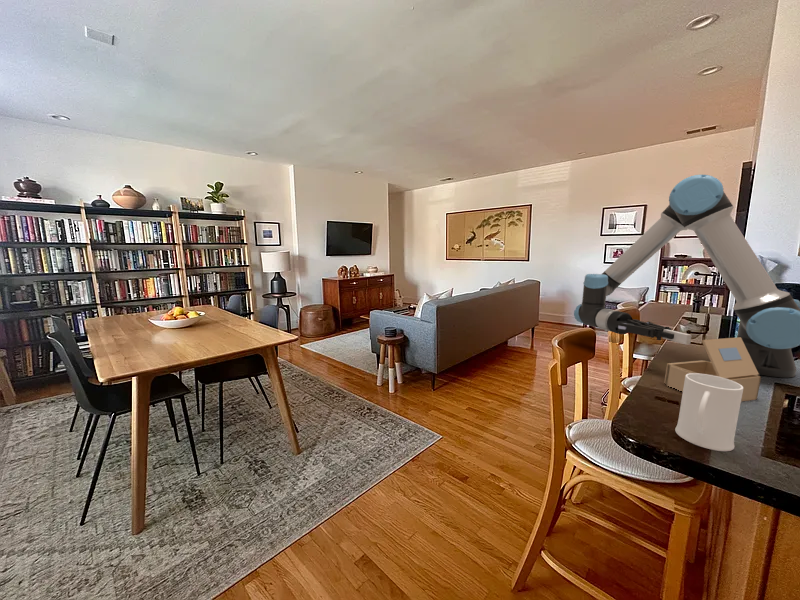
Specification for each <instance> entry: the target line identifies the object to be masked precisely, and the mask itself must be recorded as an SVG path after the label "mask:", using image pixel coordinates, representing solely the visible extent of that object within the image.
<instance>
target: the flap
mask: <svg viewBox="0 0 800 600" xmlns="http://www.w3.org/2000/svg"><path fill="white" fill-rule="evenodd" d="M701 343H702V345H703V346H704V350H705V351H706V353H707V356H708V359H709V360H710V361H709V362H711V363H712V365H713V368H714V370H715V372H716V374H717V376H718V377H722V378H730V377H739V376H749V375H760V374H759V373H758V371H757V369H756V367H755V365H754V363H753V361H752V359H751V357H750V355H749V353H748V351H747V349H746V347H745V345H744V343H743V341H742V338H741V337H738V338H737V337H725V338H712V339H710V338H709V339H701Z"/></svg>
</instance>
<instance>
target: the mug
mask: <svg viewBox="0 0 800 600" xmlns="http://www.w3.org/2000/svg"><path fill="white" fill-rule="evenodd" d="M742 394H743V386H742V385H740V384H739V383H737V382H734V381H732V380H729V379H726V378H722V377H718V376H713V375H708V374H700V373H689V374H686V376H685V381H684V388H683V392H682V396H681V401H680V407H679V415H678V420H677V423H676V424H677V425H676V427H675V429H674V430H675V433H676V434H677V436H679V437H680V438H682V439H684V440H685V441H687V442H689V443H690V444H693V445H695V446H697V447H701V448H704V449H709V450H711V451H716V452H717V451H718V452H730V451H733V450H734V449H735V438H736V437H735V435H736V431H737V430H736V429H737V426H738V420H739V414H740V410H741V409H740V408H741V404H742V401H741V399H742Z"/></svg>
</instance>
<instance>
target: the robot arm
mask: <svg viewBox="0 0 800 600" xmlns="http://www.w3.org/2000/svg"><path fill="white" fill-rule="evenodd" d="M668 202H669V204H668V206H666V208H665V209H664V210H663V211H662V212H661V213H660V218H659V219H658V220H657V221H656V222H655V223H654V224H653V225H652V226H650V227H649V229H647V231H645V233H643V234H642V235H641V236H640V237H639V238H638V239H637V240H636V241H635V242H634V243H633V244H632V245H631V246H630V247H629V248H627V250H624V252H623V253H622V254H621V255H620V256H619V257H618V258H617V259H616V260H615V261H614V262H613V263H611V264H610V265H609V267H608V268H606V269H605V270H604V271H603V272H602V273H586V274H585V276H584V280H583V291H582V298H581V299H582V300H581V304H578V305H577V306H576V307H575V310H574V311H573V316H574V319H575V320H576V321H577V322H578V323H581V324H583V325H586V326H591V327H594V328H598V329H600V330H604V332H605V333H606V332H612V333H614V334H617V335H626V334H627V333H628V334H629V333H630V334H633V335H638V336H644V337H647V338H651V339H652V338H656V341H661V340H662V339H663V340H667V341H670V342H675V343H677V344H683V345H686V346H687V345H691V341H692V334H689V333H685V332H681V331H677V330H672V328H671V327H670V326H664V325H661V324H658V323H657V324H656V323H653V322H651V321H642V320H640V319H637V318H636V319H635V318H634V319H633V317H632V316H631V314H629V313H628V312H624V311H619V310H616V309H610V308H606V300H607V297H608V296H610V295H612V293H613V292H615V290H616V289H618V287H619V286H621V285H622V284H623V283H624V282H625V281H626V280H627V279H628V278H629V277H631V275H633V274H634V273H635V272H636V271H637V270H638V269H640V267H642V266H643V265H644V264H645V263H646V262H648V260H649V259H651V258H652V257H653V256H655V254H657V252H659V251H660V250H661V249H662V248H663V247H664V246H665V245H667V244H668V243H669V242H670V241H671V240H672V239H673V238H675V236H676V235H678V234H679V233H680V232H682V231H687V230H691V231H693V232H694V234H695V236H696V237H697V239H698V240H699V242H700V243H701V245H702V247H703V248H704V250H705V251H706V253H707V255H708V256H709V258H710V260H711V262H712V263H713V265H714V266H715V268H716V270H717V272H718V273H719V275H720V276H721V278H722V280H723V282H724V283H725V285H726V287H727V288H728V289H729V291H730V293H731V294H732V296H733V298H734V299H735V304H734V306H733V308H732V309H733V311H734V312H735V314H736V316H737V318H738V319H739V323H738V324H739V325H738V330H737V333H736V334H737V336H736V338H738V337H741V338H742V341H743V343H744V345H745V347H746V349H747V351H748V353H749V355H750V357H751V359H752V361H753V363H754V365H755V367H756V369H757V371H758V373H759V374H758V375H759V376H760V375H761V376H766V377H773V378H774V377H775V378H788V379H790V378H794V377H796V372H797V366H796V363H795V359H794V356H793V352H792V349H794V348H796V347H798V346H800V300H799V299H794V298H793V296H792V294H791V293H790V292H788V291H784V290H780V289H779V288H777V286H776V284H775V283H774V281H773V279H772V277H770V275H769V274H768V272H767V271H766V269H765V268H764V266H763V264H762V262H761V261H760V259H759V257H757V255H756V253H755V251H754V250H753V248H752V247H751V246H750V244H749V242H748V241H747V239H746V238H745V235H743V233H742V231H741V230H740V228H739V227H738V224H737V223H736V222H735V220H734V219H733V218H732V216H731V214H732V211H733V210H734V208H735V207H734V205H733V203H732V202H731V200H730V199H729V197H728V195H727V194H726V193H725V191H724V186H723V183H722V182H721V181H720V180H719V179H718V178H716V177H714V176H713V175H708V174H695V175H691V176H688V177H686V178H684V179H682V180H681V181H679V182H677V184H676V185H675V186H674V187H673V189H672V190H671V191H670V193H669V196H668Z"/></svg>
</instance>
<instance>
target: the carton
mask: <svg viewBox="0 0 800 600" xmlns="http://www.w3.org/2000/svg"><path fill="white" fill-rule="evenodd" d="M689 373H700V374H708V375H713V376H717V374H716V372H715V370H714V368H713V365H712V363H711V361H708V360H702V359H701V360H690V361H681V362H680V361H679V362H671V363H670V362H669V363H666V368H665V376H664V381H663V384H664V383H665V384H666V385H665V384H664V385H665V386H666V387H668V386H669V387H668V388H670V387H672V388H671V389H673V388H675V389H677V390H676V391H678V390H679V392H680V391H682V392H681V393H683V388H684V381H685V376H686V374H689ZM726 379H729V380H732V381H734V382H737V383H739V384H740V385H742V386H743V394H742V399H741V402H749V401H755V400H758V395H759V392H760V391H759V390H760V386H761V381H762V375H761V376H760V375H759V374H757V375H749V376H739V377H730V378H726ZM675 389H674V390H675Z"/></svg>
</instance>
